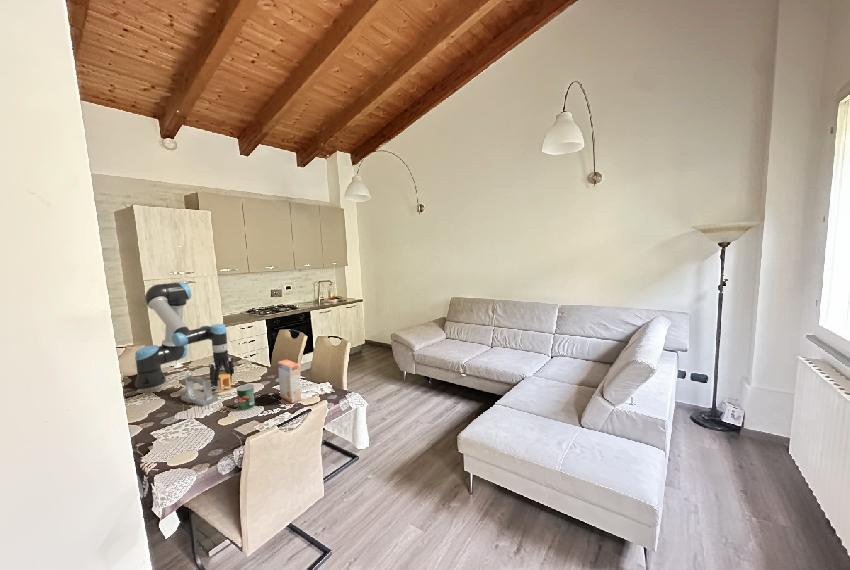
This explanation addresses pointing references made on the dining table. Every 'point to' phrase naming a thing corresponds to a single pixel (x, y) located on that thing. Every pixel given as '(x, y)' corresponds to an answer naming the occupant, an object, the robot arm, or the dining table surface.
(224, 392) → the pad
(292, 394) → the cracker box
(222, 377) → the orange notched sleeve
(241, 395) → the canned tomato
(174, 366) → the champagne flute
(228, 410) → the dining table surface
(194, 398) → the rail stand
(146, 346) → the robot arm
